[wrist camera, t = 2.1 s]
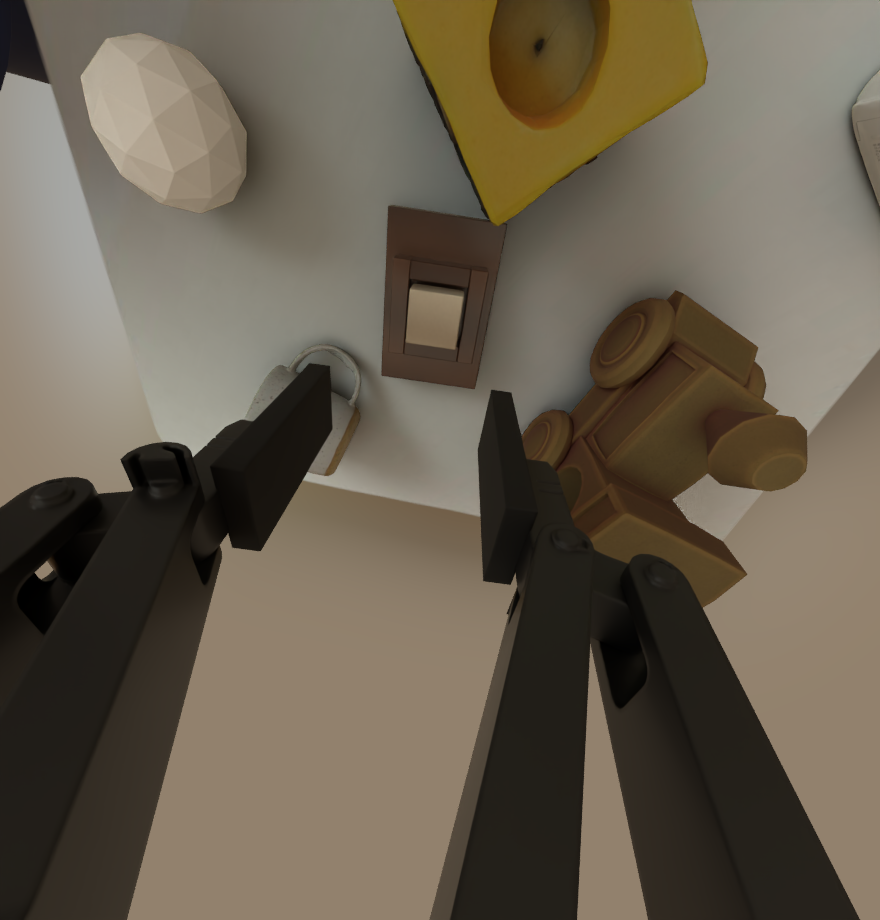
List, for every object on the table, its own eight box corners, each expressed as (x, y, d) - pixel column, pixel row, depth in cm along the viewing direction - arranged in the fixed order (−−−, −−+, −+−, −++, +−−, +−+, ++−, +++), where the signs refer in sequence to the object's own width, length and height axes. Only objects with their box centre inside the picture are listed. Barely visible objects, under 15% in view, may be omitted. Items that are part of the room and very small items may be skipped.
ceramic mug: (344, 452, 39) (321, 500, 33) (267, 417, 37) (227, 460, 31) (385, 366, 34) (368, 403, 27) (297, 320, 32) (256, 348, 25)
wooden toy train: (582, 503, 41) (639, 654, 27) (494, 459, 38) (508, 602, 25) (747, 345, 30) (974, 463, 17) (642, 270, 28) (808, 337, 14)
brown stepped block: (393, 205, 27) (383, 205, 23) (504, 222, 27) (510, 225, 23) (386, 366, 33) (377, 384, 30) (474, 379, 34) (475, 398, 30)
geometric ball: (259, 164, 28) (270, 235, 25) (137, 166, 26) (133, 242, 23) (218, 11, 21) (226, 83, 18) (48, -1, 19) (26, 77, 16)
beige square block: (413, 282, 26) (409, 288, 24) (464, 290, 26) (463, 296, 24) (409, 334, 28) (405, 343, 26) (456, 341, 28) (455, 350, 27)
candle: (575, -110, 19) (659, -352, 10) (632, 120, 23) (722, 78, 15) (407, 49, 22) (371, -40, 14) (486, 221, 27) (494, 231, 19)
